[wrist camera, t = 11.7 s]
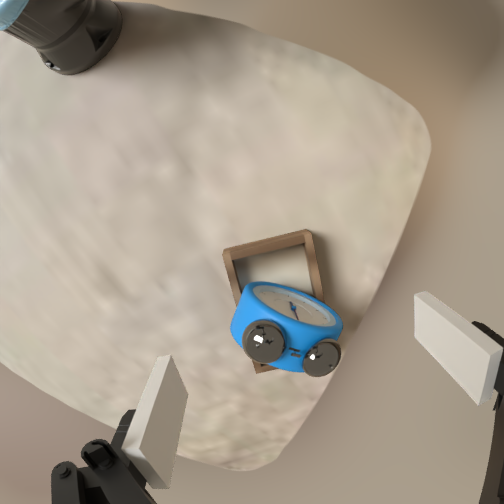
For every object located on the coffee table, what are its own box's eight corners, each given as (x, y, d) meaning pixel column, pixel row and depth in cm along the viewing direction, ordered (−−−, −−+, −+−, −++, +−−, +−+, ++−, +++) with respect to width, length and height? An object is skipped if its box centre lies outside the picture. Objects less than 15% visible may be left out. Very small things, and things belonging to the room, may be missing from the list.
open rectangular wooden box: (224, 249, 45) (222, 254, 41) (305, 229, 44) (311, 233, 41) (255, 360, 49) (256, 373, 45) (327, 343, 48) (333, 354, 45)
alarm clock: (329, 298, 45) (363, 348, 30) (312, 334, 46) (338, 393, 31) (245, 270, 44) (245, 314, 29) (230, 309, 45) (225, 366, 30)
